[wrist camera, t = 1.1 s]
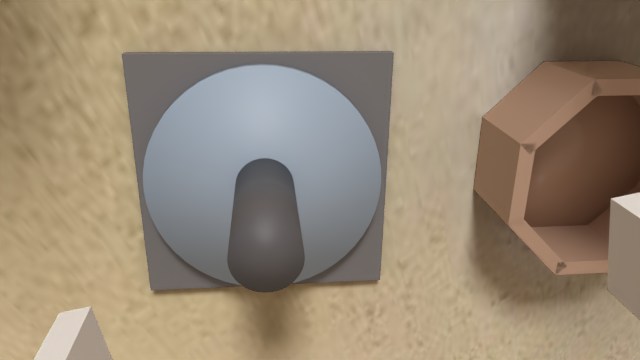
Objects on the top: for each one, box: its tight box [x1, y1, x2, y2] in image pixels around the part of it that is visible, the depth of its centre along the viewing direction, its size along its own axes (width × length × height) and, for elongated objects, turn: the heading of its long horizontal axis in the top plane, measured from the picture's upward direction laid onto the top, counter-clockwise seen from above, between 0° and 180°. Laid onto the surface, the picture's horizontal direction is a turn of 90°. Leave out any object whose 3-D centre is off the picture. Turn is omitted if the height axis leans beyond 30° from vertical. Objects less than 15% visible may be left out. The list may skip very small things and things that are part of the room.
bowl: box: [474, 61, 640, 275], centre depth 31 cm, size 11×11×5 cm
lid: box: [143, 63, 381, 292], centre depth 27 cm, size 13×13×9 cm
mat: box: [122, 51, 394, 290], centre depth 31 cm, size 14×14×1 cm
